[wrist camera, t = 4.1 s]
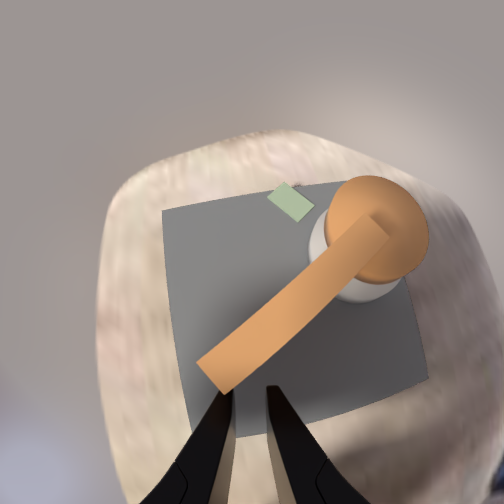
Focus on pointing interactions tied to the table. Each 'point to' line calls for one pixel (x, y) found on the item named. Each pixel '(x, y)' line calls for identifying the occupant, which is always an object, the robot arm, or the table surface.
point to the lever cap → (329, 272)
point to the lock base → (263, 290)
